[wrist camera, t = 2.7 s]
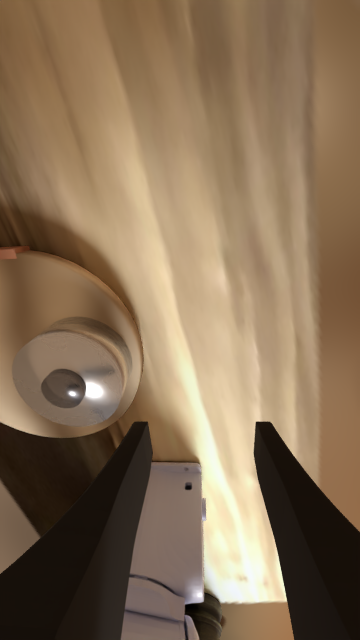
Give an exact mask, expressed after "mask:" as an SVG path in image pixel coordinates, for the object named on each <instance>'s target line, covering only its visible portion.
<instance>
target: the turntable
mask: <svg viewBox="0 0 360 640" xmlns="http://www.w3.org/2000/svg"><path fill="white" fill-rule="evenodd" d="M67 317H87V318H91V319H95V320H97V321H100V322H102V323H104V324H106V325H107V326H109V327H110V328H112V329H113V330H114V331H116V332H117V333H118V334H119V335H120V336H121V337H122V339H123V340H124V341H125V343H126V344H127V346H128V348H129V351H130V353H131V357H132V372H131V376H130V378H129V381H128V383H127V386H126V388H125V390H124V393H123V395H122V398H121V400H120V403H119V405H118V407H117V409H116V411H115V412H114V413H113V414H112V415H111V416H110V417H109V418H108V419H106V420H105V421H103V422H101V423H98V424H95V425H92V426H85V427H74V426H67V425H63V424H59V423H56V422H53V421H51V420H49V419H47V418H45V417H43V416H41V415H40V414H38V413H37V412H35V411H34V410H33V409H32V408H30V407H29V406H28V405H27V404H26V403H25V401H24V400H23V399H22V398H21V396H20V395H19V393H18V391H17V389H16V387H15V385H14V382H13V377H12V365H13V361H14V358H15V356H16V355H17V353H18V352H19V351H20V349H21V348H22V347H24V346H25V345H26V344H27V343H29V342H30V341H31V340H32V339H34V338H35V337H36V336H37V335H39V334H40V333H41V332H43V331H44V330H45V329H46V328H48V327H49V326H50V325H51V324H53V323H54V322H56V321H58V320H61V319H63V318H67ZM143 362H144V357H143V347H142V342H141V338H140V334H139V332H138V329H137V326H136V324H135V322H134V320H133V318H132V316H131V314H130V313H129V311H128V310H127V308H126V307H125V305H124V304H123V302H122V301H121V300H120V299H119V298H118V296H117V295H116V294H115V293H114V292H113V291H112V290H111V289H110V288H109V287H108V286H107V285H106V284H105V283H104V282H102V281H101V280H100V279H99V278H98V277H96V276H95V275H93V274H92V273H90V272H89V271H88V270H86V269H84V268H82V267H81V266H79V265H77V264H75V263H73V262H71V261H69V260H66V259H64V258H61V257H59V256H56V255H52V254H48V253H45V252H39V251H32V250H30V248H29V246H16V247H1V248H0V422H2V423H4V424H6V425H8V426H11V427H13V428H15V429H18V430H21V431H24V432H27V433H31V434H35V435H39V436H46V437H56V438H70V437H79V436H85V435H89V434H92V433H95V432H98V431H100V430H103V429H105V428H106V427H108V426H110V425H111V424H113V423H114V422H115V421H117V420H118V419H119V418H120V417H121V416H122V415H123V414H124V413H125V412H126V411H127V409H128V408H129V406H130V405H131V403H132V401H133V399H134V397H135V394H136V392H137V389H138V386H139V383H140V380H141V376H142V372H143Z"/></svg>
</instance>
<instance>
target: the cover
mask: <svg viewBox="0 0 360 640" xmlns="http://www.w3.org/2000/svg"><path fill="white" fill-rule="evenodd" d="M131 372H132V357H131V353H130V351H129V348H128V346H127V344H126V343H125V341H124V340H123V339H122V337H121V336H120V335H119V334H118V333H117V332H116V331H114V330H113V329H112V328H110V327H109V326H107V325H106V324H104V323H102V322H100V321H97V320H95V319H91V318H87V317H67V318H63V319H61V320H58V321H56V322H54V323H53V324H51V325H50V326H49V327H48V328H46V329H45V330H44V331H43V332H41V333H40V334H39V335H37V336H36V337H35V338H34V339H32V340H31V341H30V342H29V343H27V344H26V345H25V346H24V347H22V348H21V349H20V351H19V352H18V353H17V355H16V356H15V358H14V361H13V365H12V377H13V382H14V385H15V387H16V389H17V391H18V393H19V395H20V396H21V398H22V399H23V400H24V401H25V403H26V404H27V405H28V406H29V407H30V408H32V409H33V410H34V411H35V412H37V413H38V414H40V415H41V416H43V417H45V418H47V419H49V420H51V421H53V422H56V423H59V424H63V425H67V426H74V427H85V426H92V425H95V424H98V423H101V422H103V421H105V420H106V419H108V418H109V417H110V416H111V415H112V414H113V413H114V412H115V411H116V409H117V407H118V405H119V403H120V400H121V398H122V395H123V393H124V390H125V388H126V386H127V383H128V381H129V378H130V376H131Z"/></svg>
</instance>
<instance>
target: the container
mask: <svg viewBox="0 0 360 640" xmlns="http://www.w3.org/2000/svg"><path fill="white" fill-rule="evenodd" d="M184 615H187V616H190V617H191V618H192V620H193V623H194V626H195V628H196V630H197V633H198V636H199V640H219V638H220V636H221V632H222V627H221V625H220V624H219V622H220V621H221V618H222V610H221V606H220V603H219V602H218V601H217V600H216V599H215V598H213V597H212V596H210V595H208V594H205V593H204V602H201V603H190V604H185V614H184Z"/></svg>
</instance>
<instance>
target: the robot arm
mask: <svg viewBox="0 0 360 640" xmlns="http://www.w3.org/2000/svg"><path fill="white" fill-rule="evenodd" d="M152 454H153V452H152V445H151V439H150V433H149V427H148V422H134V423H133V424H132V426H131V428H130V429H129V431H128V433H127V434H126V436H125V437H124V439H123V440H122V442H121V443H120V445H119V447H118V448H117V449H116V451H115V452H114V454H113V455H112V457H111V458H110V459H109V461H108V462H107V464H106V465H105V466H104V468H103V469H102V470H101V472H100V473H99V474H98V475H97V477H96V478H95V479H94V481H93V482H92V483H91V484H90V486H89V487H88V488H87V489H86V491H85V492H84V493H83V494H82V495H81V496H80V497H79V499H78V500H77V501H76V502H75V503H74V504H73V505H72V507H71V508H70V509H69V510H68V511H67V512H66V513H65V514H64V515H63V516H62V517H61V518H60V519H59V520H58V521H57V522H56V523H55V524H54V525H53V526H52V527H51V528H50V529H49V530H48V531H47V532H46V533H45V534H44V535H43V536H42V537H41V538H40V539H39V540H38V541H37V542H36V543H35V544H34V545H32V547H30V549H28V550H27V551H26V552H25V553H24V554H23V555H22V556H21V557H20V558H18V559H17V560H16V561H15V562H14V563H13V564H11V566H9V567H8V568H7V569H6V570H4V571H3V572H2V573H1V574H0V640H199V636H198V633H197V630H196V628H195V626H194V623H193V620H192V618H191V617H190V616H187V615H184V614H185V604H190V603H201V602H204V545H203V520H205V521H206V499H205V498H203V497H202V478H201V465H200V464H198V463H176V462H152ZM254 458H255V464H256V470H257V476H258V480H259V484H260V488H261V492H262V495H263V499H264V502H265V506H266V510H267V513H268V517H269V521H270V524H271V528H272V531H273V535H274V539H275V543H276V547H277V551H278V556H279V561H280V566H281V571H282V576H283V581H284V586H285V592H286V597H287V602H288V607H289V613H290V618H291V624H292V629H293V634H294V640H360V532H359V531H358V530H357V529H356V528H355V527H354V526H353V525H352V524H351V523H350V522H349V521H348V519H347V518H345V516H343V514H342V513H341V512H340V511H339V510H338V509H337V508H336V507H335V506H334V505H333V503H332V502H331V501H330V500H329V499H328V498H327V497H326V496H325V494H324V493H323V492H322V491H321V490H320V489H319V487H318V486H317V485H316V484H315V483H314V481H313V480H312V479H311V478H310V476H309V475H308V474H307V473H306V471H305V470H304V469H303V468H302V466H301V465H300V464H299V462H298V461H297V460H296V458H295V457H294V456H293V454H292V453H291V451H290V450H289V449H288V447H287V446H286V444H285V443H284V441H283V440H282V438H281V437H280V435H279V434H278V432H277V431H276V429H275V428H274V426H273V424H272V423H271V422H256V427H255V442H254Z"/></svg>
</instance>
